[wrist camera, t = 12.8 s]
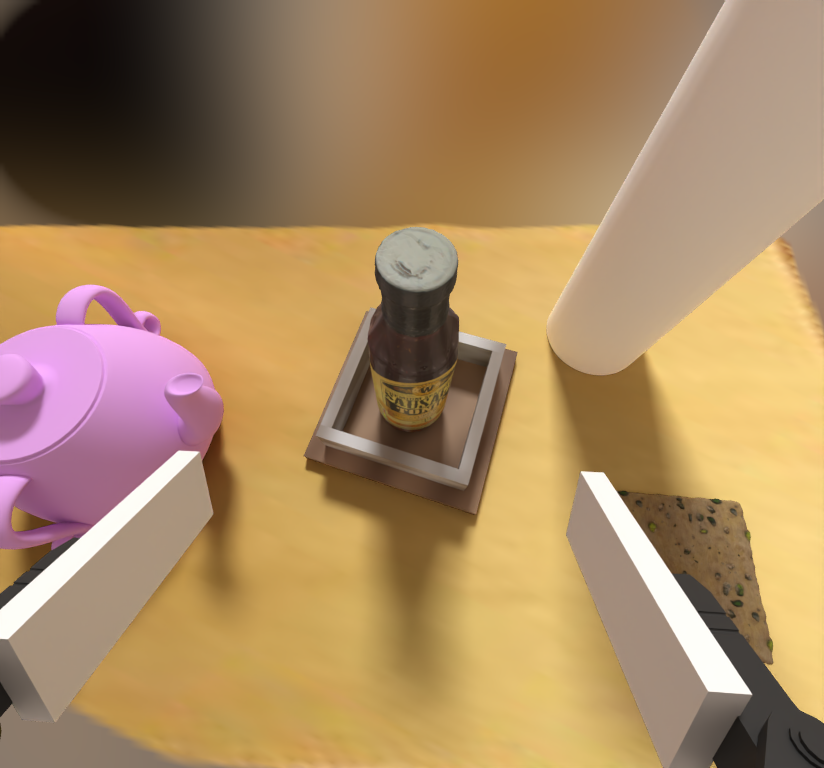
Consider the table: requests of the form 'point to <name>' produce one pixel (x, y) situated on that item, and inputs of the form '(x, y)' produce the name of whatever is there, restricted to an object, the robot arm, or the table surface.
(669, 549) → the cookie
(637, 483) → the table surface
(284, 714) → the table surface
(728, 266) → the cylinder container
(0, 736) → the robot arm
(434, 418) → the sauce bottle
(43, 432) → the teapot
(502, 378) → the grey square tray
